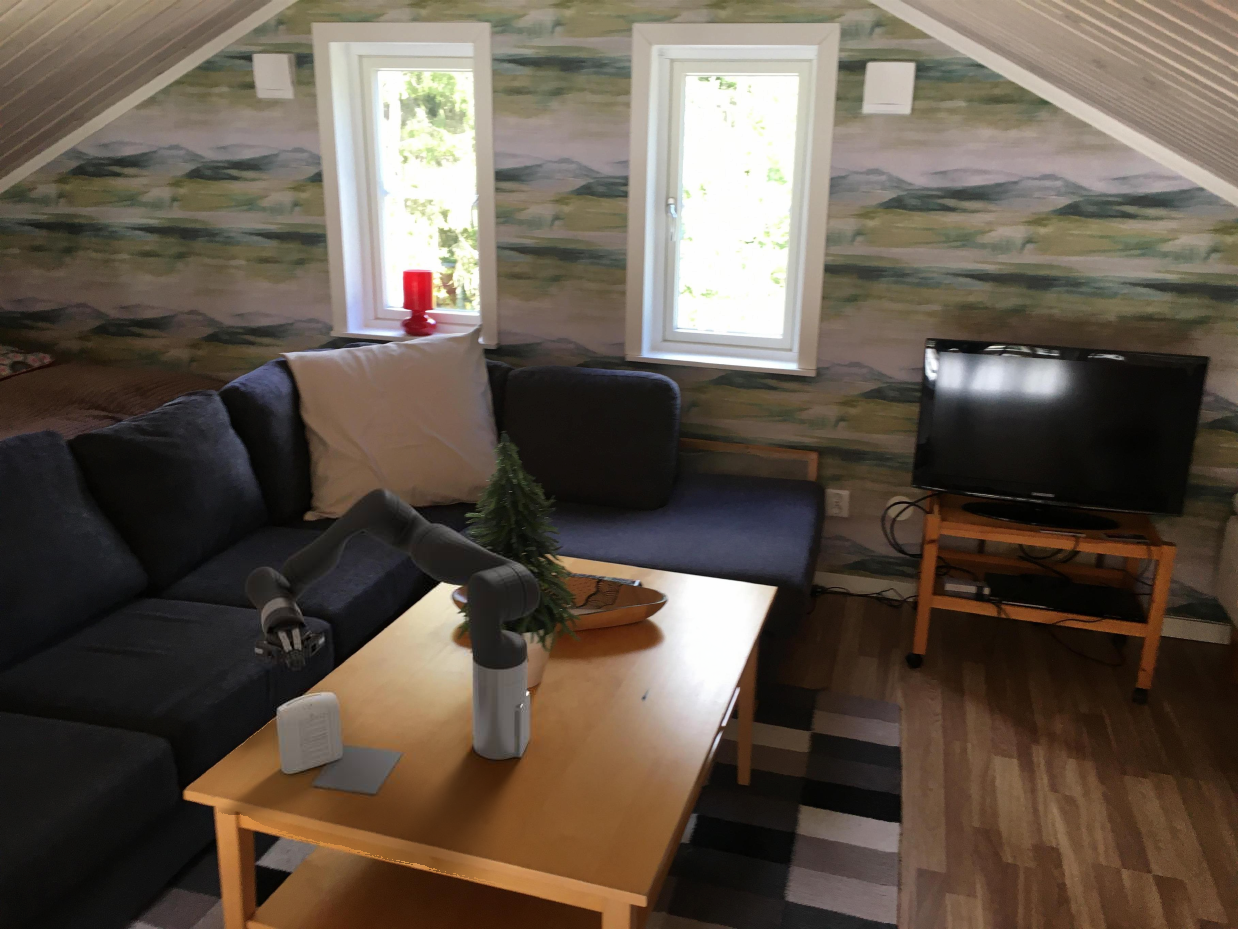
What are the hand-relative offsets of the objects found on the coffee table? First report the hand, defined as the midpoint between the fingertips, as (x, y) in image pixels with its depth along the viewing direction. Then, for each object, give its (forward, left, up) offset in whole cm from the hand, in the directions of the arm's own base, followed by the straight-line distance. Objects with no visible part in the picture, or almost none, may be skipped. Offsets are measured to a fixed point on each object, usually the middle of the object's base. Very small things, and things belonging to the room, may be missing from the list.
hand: (297, 665), depth 182 cm
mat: (-16, +13, -11) cm, 23 cm away
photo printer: (-8, +13, -11) cm, 19 cm away
